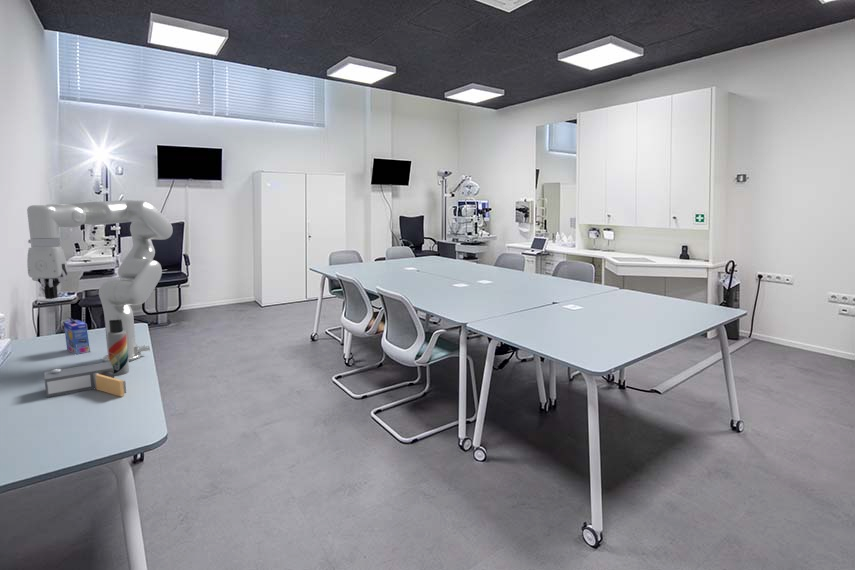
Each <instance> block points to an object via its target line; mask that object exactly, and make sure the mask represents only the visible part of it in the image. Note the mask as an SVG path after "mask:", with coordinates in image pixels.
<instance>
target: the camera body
mask: <svg viewBox="0 0 855 570" xmlns="http://www.w3.org/2000/svg"><path fill="white" fill-rule="evenodd" d="M43 373H44V386H45V393H46V398H50V397H56V396H62V395H63V396H64V395H67V394H73V393H77V392H83V391H88V390H93V389H94V388H95V387H94V377H93V374H94V373H98V374H100V375H104V376H108V377H112V378H115V375H114V370H113V366H112V364H111V362H100V363H93V364H87V365H81V366H76V367H75V366H74V367H69V368H68V367H67V368H55V369H51V370H48V371H44V372H43ZM94 390H95V389H94Z"/></svg>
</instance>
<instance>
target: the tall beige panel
mask: <svg viewBox="0 0 855 570" xmlns="http://www.w3.org/2000/svg"><path fill="white" fill-rule="evenodd" d="M93 377H94V387H95V389H94V390H97V391H101V392H105V393H108V394H110V395H114V396H117V397H124V396H125V394H127V385H126V384H127V383H126V380H122V379H119V378H115V377H114V378H112V377H108V376H104V375H100V374H98V373H94V374H93Z"/></svg>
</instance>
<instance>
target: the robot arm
mask: <svg viewBox="0 0 855 570" xmlns="http://www.w3.org/2000/svg"><path fill="white" fill-rule="evenodd" d="M26 212H27V213H26V214H27V219H28V220H27V222H28V230H29V231H28V232H29V238H30V239H28V241H27V242H28V244H30V246H31V247H29V248H28V251H27V262H26V263H27V275H28V277H29V278H31V280H32V281H34V282H38V283H40V286H41V287H42V288H44V289H43V290H44V298H45V299H46V300H53V299H57V298H59V297H58V295H59V294H58V286H59V285H60V284H61V282H62V283H63V282H65V281H68V277H67V276H68V272H69V271H68V264H67V263H68V262H67V260H66V259H67V258H66V255H65V252H64V249H63V247H61V239H60V228H76V227H80V226H82V225H91V226H92V225H93V226H98V225H99V226H100V225H102V226H103V225H112V224H113V225H114V224H123V223H131V224H130V227H129V231H130V235H131V238H132V239H131V240H132V247H131V249H130V250H129V252H128V253H127V255H126V256H125V258H124V259H123V261H122V262H121V263H120V264H119V267H118V270H117V275H118V277H119V278H120V279H118V278H117V279H115V278H114V279H108V280H105V281H104V282H102V284H100V287H99V288H98V289H99V290H98V297H99V299H100V302H101V306H102V309H103V316H104V317H103V318H104V325H105V326H104V328H105V339H106V350H107V354H106V355H104V357H103V358H102V360H103V363H105V362H110V361H109V350H108V338H107V333H109V332H110V326H109V320H119V319H122V325H123V331H126V337H127V349H128V361H129V362H132V361H134V360H137V358H138V359H140V358H141V357H142V352H148V351H151V348H150V345H139V346H138V345H137V344H136V334H135V333H136V332H135V321H134V319H135V317H134V311H133V309H132V306H140V305H143V304H144V303H145V302H146V301H147V300H148V299H149V298H150V296H151V295H152V293H153V291H154V290H155V289H156V286H157V285H158V283H159V282H160V281H161V278H162V275H163V270H162V265H161V263H160V262H159V261H157V260H154V257H155V254H156V249H155V246H154V245H153V241H152V240H159V241H160V240H161V241H162V240H167V239H169V238H171V236H172V235H173V229H174V228H173V226H172V224H171V222H170V220H169V219H168V218H167V217H166V216H165V215H164V214H163V213H161V211H159V209H157V207H155V206H154V205H152V203H150V202H148V201H146V200H131V199H130V200H128V199H125V200H122V199H121V200H107V201H106V200H105V201H101V200H99V201H89V202H88V201H87V202H76V203H75V202H74V203H55V204H54V203H52V204H50V203H49V204H45V205H44V204H43V205H41V204H39V205H38V204H34V205H29V206H28V207H27V208H26ZM59 227H60V228H59Z"/></svg>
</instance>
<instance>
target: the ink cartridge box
mask: <svg viewBox="0 0 855 570" xmlns="http://www.w3.org/2000/svg"><path fill="white" fill-rule="evenodd" d="M68 318H69V320H67V321H63V327H64V336H65V342H66V345H65V346H66V350H67V351H68V352H70V353H72V354H74V355H75V354H76V355H80V353H81V354H85V352H86V353H89V352H91V347H90V346H91V345H90V340H89V339H90V338H89V333H88V324H87V323H86V322H84V321H81V320H79V319H73V318H72V317H70V316H68Z"/></svg>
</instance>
